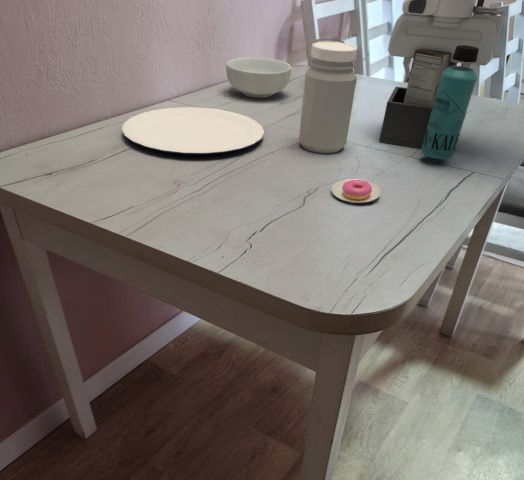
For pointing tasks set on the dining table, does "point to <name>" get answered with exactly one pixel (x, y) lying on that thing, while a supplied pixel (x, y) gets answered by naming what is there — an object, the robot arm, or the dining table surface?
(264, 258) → the dining table surface
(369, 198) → the donut
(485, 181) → the dining table surface
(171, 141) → the plate
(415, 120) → the basket
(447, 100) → the teal pump bottle
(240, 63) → the cereal bowl
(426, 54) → the coffee box
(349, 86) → the jar
